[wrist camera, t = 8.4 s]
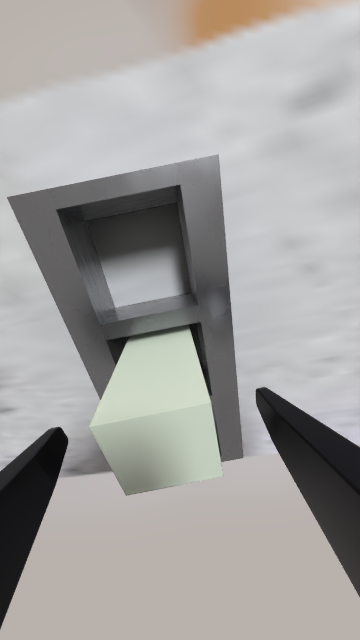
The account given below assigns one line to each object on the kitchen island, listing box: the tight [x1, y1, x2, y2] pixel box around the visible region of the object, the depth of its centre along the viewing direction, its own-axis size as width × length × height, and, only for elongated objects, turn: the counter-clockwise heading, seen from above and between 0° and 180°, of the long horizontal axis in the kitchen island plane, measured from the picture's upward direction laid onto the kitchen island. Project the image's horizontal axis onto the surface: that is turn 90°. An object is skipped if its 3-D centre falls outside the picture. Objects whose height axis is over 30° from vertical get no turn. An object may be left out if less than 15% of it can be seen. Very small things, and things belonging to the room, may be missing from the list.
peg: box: [89, 324, 223, 495], centre depth 10 cm, size 4×4×8 cm
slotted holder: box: [7, 155, 243, 462], centre depth 12 cm, size 20×9×3 cm, turn 10°
